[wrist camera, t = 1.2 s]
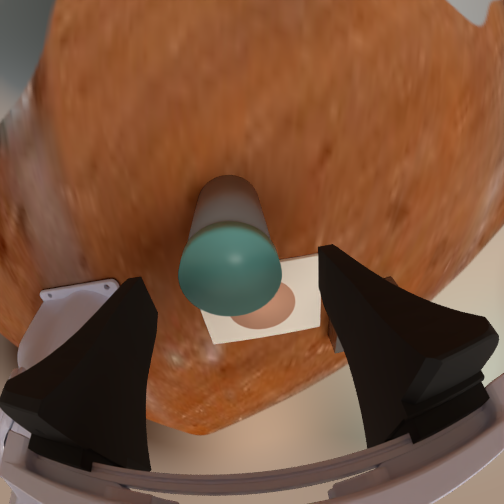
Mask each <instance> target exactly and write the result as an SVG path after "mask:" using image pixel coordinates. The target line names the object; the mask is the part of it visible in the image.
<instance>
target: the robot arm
mask: <svg viewBox="0 0 504 504" xmlns="http://www.w3.org/2000/svg"><path fill="white" fill-rule="evenodd" d="M106 285H108V286H109V287H108V286H106ZM318 287H319V291H320V294H321V297H322V300H323V304H324V307H325V309H326V312H327V314H328V316H329V318H330V320H331V323H332V325H333V327H334V329H335V332H336V334H337V336H338V338H339V341H340V343H341V345H342V347H343V350H344V352H345V355H346V357H347V360H348V364H349V367H350V370H351V374H352V377H353V381H354V385H355V388H356V392H357V396H358V400H359V405H360V409H361V414H362V419H363V424H364V430H365V436H366V442H367V449H365V450H362V451H359V452H356V453H352V454H349V455H345V456H342V457H338V458H334V459H331V460H326V461H322V462H317V463H313V464H308V465H303V466H298V467H293V468H286V469H280V470H272V471H264V472H254V473H242V474H227V475H186V474H185V475H184V474H168V473H156V472H150V471H151V466H150V460H149V453H148V446H147V433H146V387H147V379H148V373H149V368H150V363H151V358H152V353H153V348H154V343H155V338H156V331H157V318H158V312H157V310H156V308H155V306H154V303H153V301H152V299H151V297H150V295H149V293H148V291H147V289H146V287H145V284H144V282H143V280H142V278H141V277H135V278H129V279H127V280H126V281H125V282H124V283H123V284H122V285H121V286H119V284H118V282H117V281H116V280H114V279H107V280H101V281H95V282H89V283H83V284H77V285H71V286H65V287H59V288H53V289H47V290H42V291H41V292H40V296H41V298H42V300H43V301H44V302H43V304H42V305H41V307H40V308H39V310H38V312H37V313H36V315H35V317H34V319H33V320H32V322H31V324H30V326H29V327H28V329H27V331H26V333H25V335H24V336H23V338H22V340H21V342H20V345H19V349H18V367H19V369H18V368H17V369H13V370H12V372H11V374H10V377H9V379H8V381H7V382H6V384H5V386H4V388H3V391H2V394H1V396H0V477H1V478H3V479H4V480H5V482H6V483H7V484H8V485H9V487H10V488H11V489H12V492H11V497H10V502H9V504H179V503H178V502H175V501H170V500H166V499H162V498H158V497H155V496H153V495H150V494H145V493H140V492H136V491H131V490H130V489H129V488H133V489H139V490H146V491H153V492H161V493H170V494H183V495H210V496H212V495H213V496H218V495H219V496H220V495H246V494H258V493H267V492H276V491H283V490H290V489H296V488H302V487H307V486H312V485H317V484H321V483H326V482H330V481H334V480H338V479H341V478H345V477H349V476H352V475H355V474H359V473H362V472H365V471H368V470H371V469H374V468H375V469H374V470H371V471H369V472H366V473H363V474H361V475H358V476H355V477H353V478H350V479H347V480H344V481H341V482H338V483H335V484H334V485H333V488H332V489H330V490H329V491H328V495H329V499H328V500H324V501H319V502H314V503H309V504H433V503H434V502H436V501H438V500H439V499H441V498H443V497H444V496H446V495H447V494H449V493H450V492H452V491H453V490H455V489H456V488H458V487H459V486H460V485H462V484H463V483H465V482H466V481H467V480H469V479H470V478H471V477H472V476H474V475H475V474H477V473H478V472H479V471H480V470H482V469H483V468H484V467H485V466H486V465H488V464H489V463H490V462H491V461H492V460H493V459H495V458H496V457H497V456H498V455H499V454H500V453H501V452H502V451H503V450H504V373H503V374H501V375H500V376H499V377H497V378H496V379H494V380H493V381H492V382H490V383H489V384H488V385H487V386H486V387H485V388H484V386H483V384H482V381H483V380H484V375H483V373H482V371H481V369H482V368H483V366H484V365H485V364H486V362H487V361H488V360H489V358H490V356H491V355H492V354H493V352H494V351H495V349H496V347H497V345H498V341H499V335H498V334H497V332H496V331H495V330H494V328H493V327H492V326H491V324H490V323H489V321H488V320H487V319H486V318H485V317H482V316H478V315H473V314H469V313H465V312H460V311H457V310H454V309H450V308H447V307H444V306H441V305H438V304H435V303H433V302H430V301H428V300H426V299H423V298H421V297H418V296H416V295H414V294H412V293H410V292H408V291H406V290H404V289H402V288H400V287H398V286H396V285H394V284H392V283H390V282H389V281H387V280H385V279H384V278H382V277H380V276H379V275H377V274H375V273H374V272H372V271H371V270H369V269H368V268H366V267H365V266H363V265H362V264H360V263H359V262H357V261H356V260H355V259H353V258H352V257H350V256H349V255H348V254H346V253H345V252H343V251H342V250H341V249H339V248H338V247H336V246H335V245H333V244H331V245H325V246H320V247H318ZM376 467H377V468H376Z"/></svg>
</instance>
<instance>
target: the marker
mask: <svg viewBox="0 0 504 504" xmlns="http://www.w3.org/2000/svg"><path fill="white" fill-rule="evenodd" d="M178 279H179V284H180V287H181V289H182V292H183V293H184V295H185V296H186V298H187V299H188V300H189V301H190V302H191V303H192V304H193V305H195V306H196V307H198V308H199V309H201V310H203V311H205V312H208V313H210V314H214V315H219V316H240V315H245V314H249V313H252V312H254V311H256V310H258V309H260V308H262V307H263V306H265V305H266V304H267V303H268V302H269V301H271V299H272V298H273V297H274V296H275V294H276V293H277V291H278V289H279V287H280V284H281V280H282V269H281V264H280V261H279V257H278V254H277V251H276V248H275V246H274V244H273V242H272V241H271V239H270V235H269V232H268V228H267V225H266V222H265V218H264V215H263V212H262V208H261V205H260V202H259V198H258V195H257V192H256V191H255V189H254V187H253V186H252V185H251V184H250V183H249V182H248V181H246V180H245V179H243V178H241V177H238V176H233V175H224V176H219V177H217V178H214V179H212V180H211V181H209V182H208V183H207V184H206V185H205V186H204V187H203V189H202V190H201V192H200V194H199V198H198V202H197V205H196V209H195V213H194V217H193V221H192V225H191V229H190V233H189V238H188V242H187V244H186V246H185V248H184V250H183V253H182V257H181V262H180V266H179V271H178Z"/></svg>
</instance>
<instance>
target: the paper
mask: <svg viewBox="0 0 504 504" xmlns="http://www.w3.org/2000/svg"><path fill="white" fill-rule="evenodd" d="M279 261H280V264H281V269H282V280H281V284H280V287H279V289H278V291H277V293H276V294H275V296H274V297H273V298H272V299H271V301H269V302H268V303H267V304H266V305H265V306H263V307H262V308H260V309H258V310H256V311H254V312H252V313H249V314H245V315H240V316H219V315H214V314H210V313H208V312H205V311H203V310H201V309H200V310H201V313H202V315H203V318H204V321H205V323H206V326H207V328H208V331H209V334H210V336H211V339H212V341H213V344H220V343H227V342H234V341H241V340H248V339H254V338H261V337H267V336H272V335H278V334H284V333H289V332H294V331H299V330H304V329H309V328H314V327H319V326H320V306H321V294H320V291H319V287H318V253H316V254H311V255H305V256H299V257H294V258H288V259H282V260H279Z"/></svg>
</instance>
